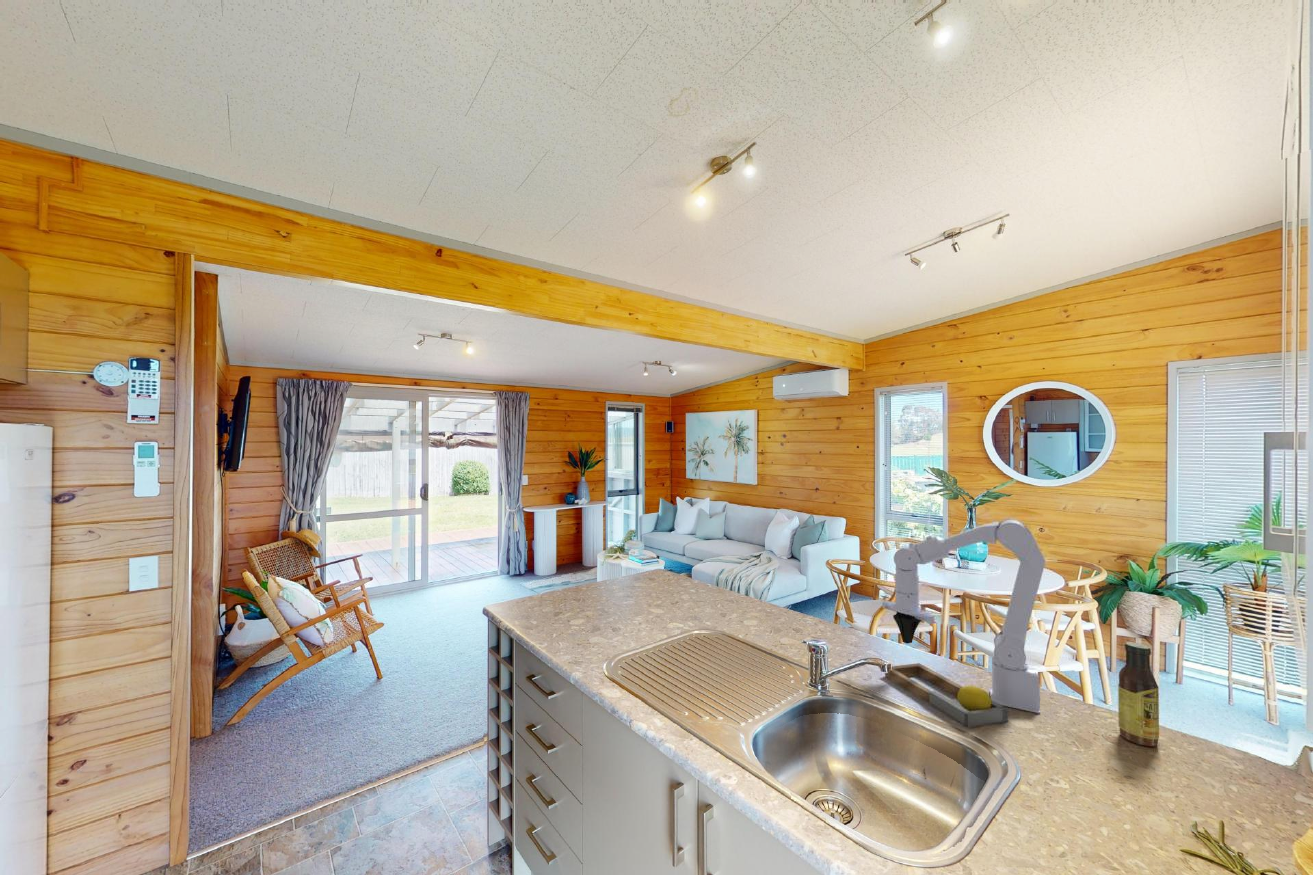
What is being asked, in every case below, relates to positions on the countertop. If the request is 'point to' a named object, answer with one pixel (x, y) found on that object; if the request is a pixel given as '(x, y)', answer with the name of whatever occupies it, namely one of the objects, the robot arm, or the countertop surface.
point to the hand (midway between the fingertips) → (907, 642)
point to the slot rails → (904, 671)
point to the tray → (966, 717)
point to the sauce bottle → (1138, 697)
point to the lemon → (974, 698)
